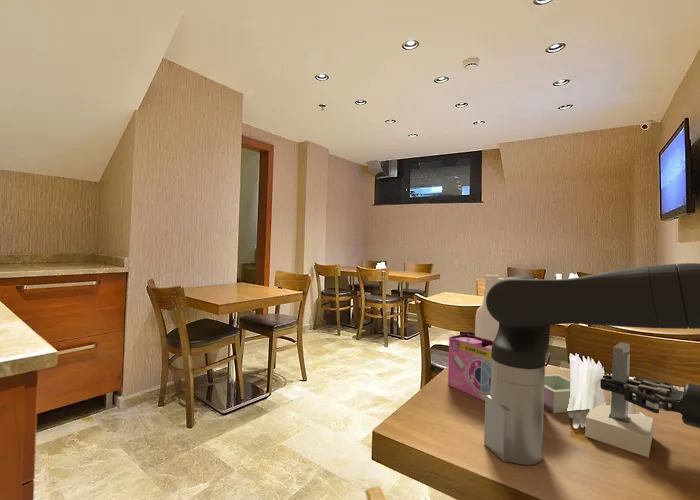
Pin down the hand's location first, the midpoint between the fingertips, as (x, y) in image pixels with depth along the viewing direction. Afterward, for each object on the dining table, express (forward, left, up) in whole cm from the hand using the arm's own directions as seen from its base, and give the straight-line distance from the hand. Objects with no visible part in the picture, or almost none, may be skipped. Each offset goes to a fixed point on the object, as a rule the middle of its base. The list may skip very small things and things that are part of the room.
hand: (603, 381), depth 75 cm
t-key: (+1, -3, -10) cm, 10 cm away
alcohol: (-4, +34, -11) cm, 36 cm away
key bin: (0, +13, -11) cm, 17 cm away
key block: (+2, -3, -11) cm, 11 cm away
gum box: (-14, +18, -11) cm, 26 cm away
